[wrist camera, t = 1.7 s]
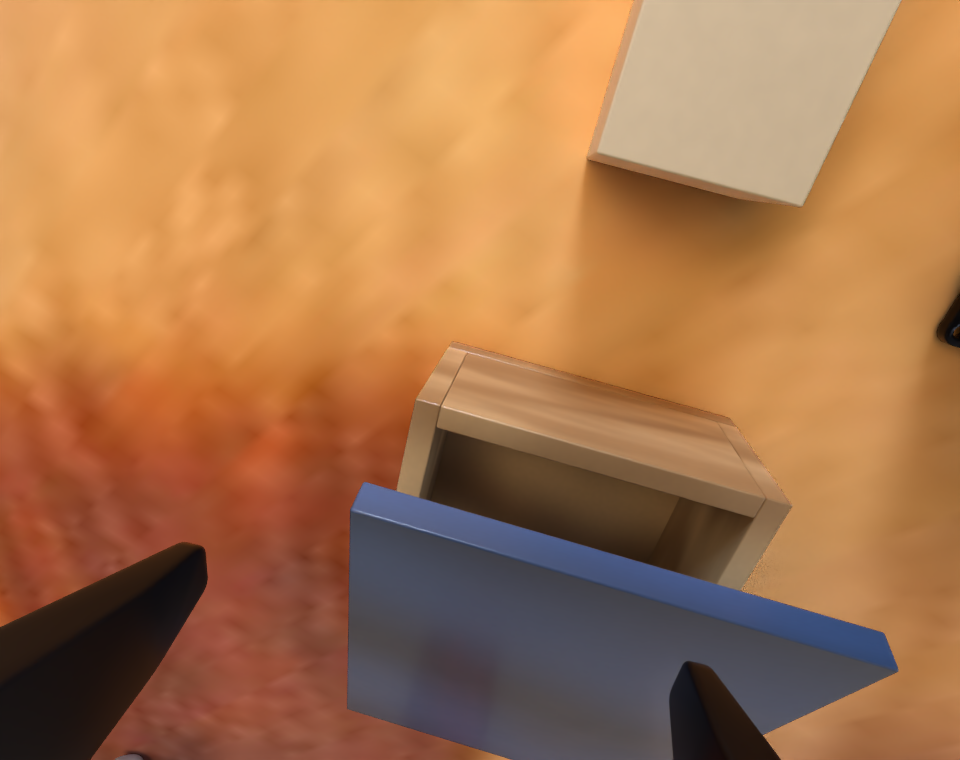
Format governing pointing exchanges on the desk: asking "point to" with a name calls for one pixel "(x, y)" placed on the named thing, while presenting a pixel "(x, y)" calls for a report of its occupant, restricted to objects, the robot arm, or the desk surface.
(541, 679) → the blue lid
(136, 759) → the gray elephant figurine
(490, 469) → the storage box
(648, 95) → the case
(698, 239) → the desk surface
